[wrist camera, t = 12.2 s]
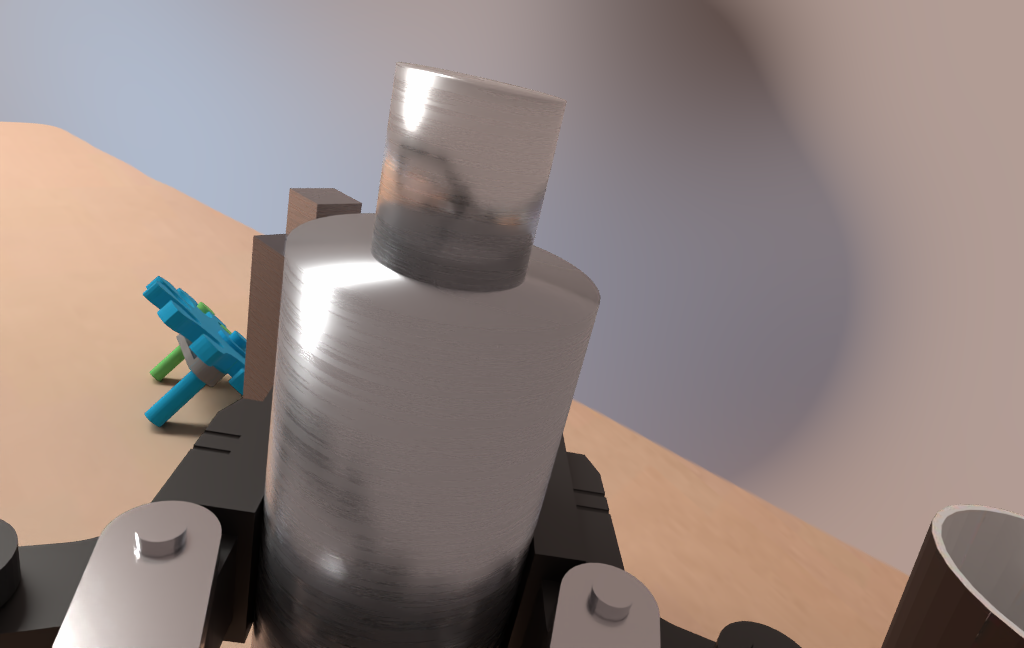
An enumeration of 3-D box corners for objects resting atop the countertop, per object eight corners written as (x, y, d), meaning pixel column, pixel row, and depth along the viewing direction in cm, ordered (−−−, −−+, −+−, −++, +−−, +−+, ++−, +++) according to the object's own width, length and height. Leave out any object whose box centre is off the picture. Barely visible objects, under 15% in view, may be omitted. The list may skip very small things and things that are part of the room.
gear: (335, 431, 33) (180, 300, 27) (245, 519, 32) (64, 402, 26) (279, 355, 42) (153, 244, 36) (207, 423, 41) (64, 318, 35)
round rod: (251, 1089, 10) (385, 79, 5) (210, 850, 13) (263, 28, 7) (455, 955, 12) (724, 140, 7) (383, 773, 15) (531, 83, 9)
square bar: (274, 564, 27) (309, 212, 21) (234, 516, 29) (257, 181, 23) (344, 532, 29) (393, 209, 24) (304, 490, 31) (340, 182, 26)
